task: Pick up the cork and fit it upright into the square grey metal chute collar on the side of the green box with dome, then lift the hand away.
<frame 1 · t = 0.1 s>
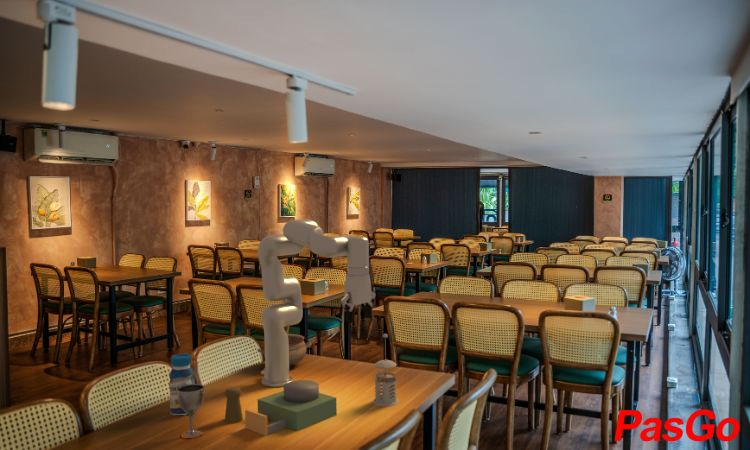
hand: (358, 320, 211), 31 cm above the table, tool pointing down, fingers open, 9 cm apart
wine glass: (191, 435, 189), on the table
green box with dome: (297, 415, 204), on the table
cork: (233, 420, 201), on the table
cooking pot: (285, 366, 265), on the table
french press: (384, 403, 216), on the table
beverage bottle: (182, 412, 209), on the table
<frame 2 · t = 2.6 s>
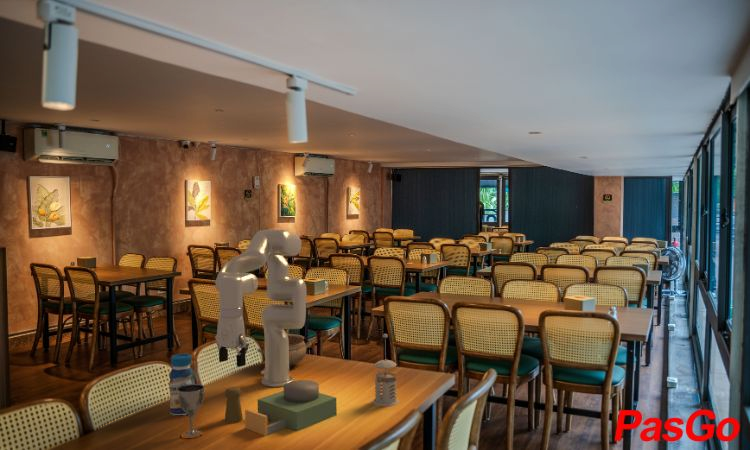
hand: (232, 363, 200), 19 cm above the table, tool pointing down, fingers open, 9 cm apart
nothing on the table moved.
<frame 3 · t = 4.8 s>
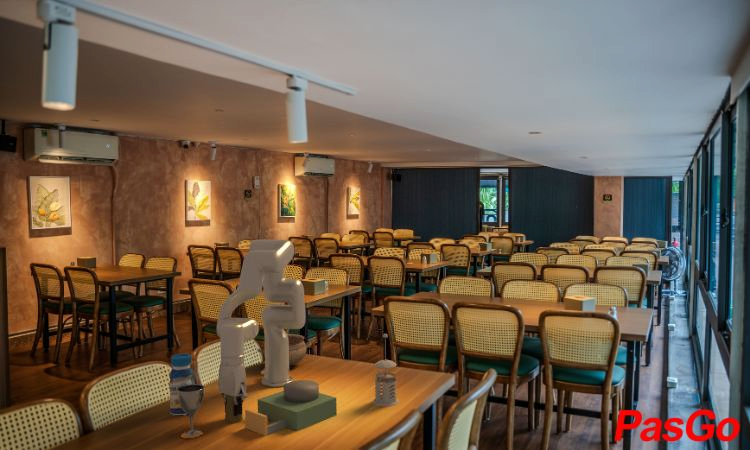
hand: (233, 413, 201), 2 cm above the table, tool pointing down, fingers closed on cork, 4 cm apart
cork: (233, 420, 201), on the table, touching gripper
everything else where it was.
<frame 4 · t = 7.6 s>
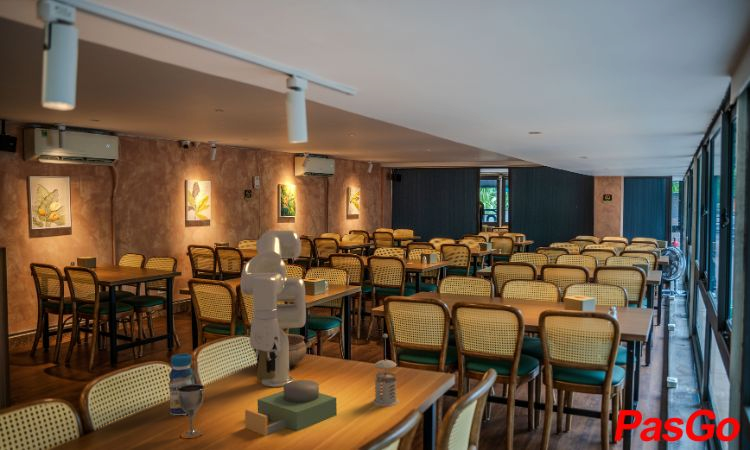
hand: (266, 369, 193), 19 cm above the table, tool pointing down, fingers closed on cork, 4 cm apart
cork: (266, 377, 193), point 16 cm above the table, touching gripper
everything else where it was.
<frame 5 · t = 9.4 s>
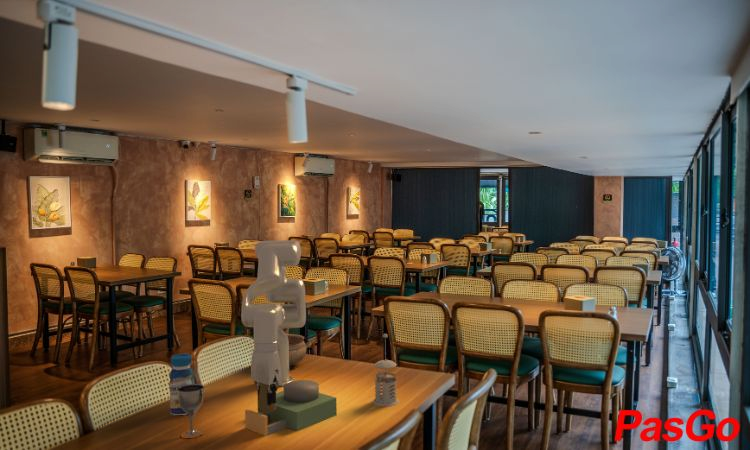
hand: (266, 401, 194), 8 cm above the table, tool pointing down, fingers closed on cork, 4 cm apart
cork: (266, 409, 194), point 6 cm above the table, touching gripper
everything else where it was.
when the fingers open (4 cm above the table, at t = 10.8 s): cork stays where it is, resting in green box with dome.
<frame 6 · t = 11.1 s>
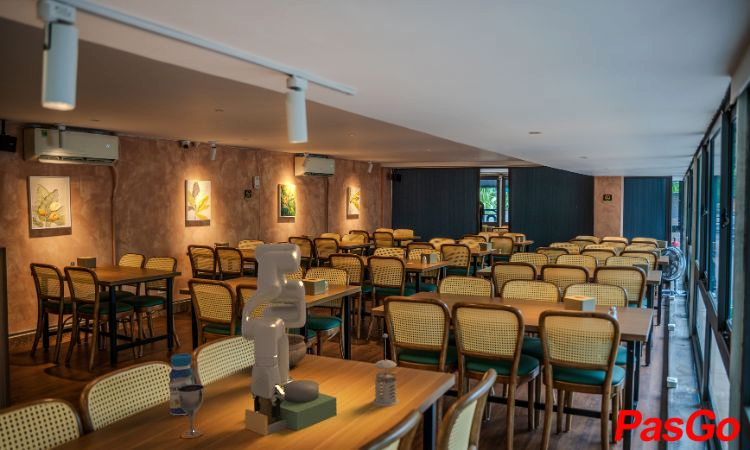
hand: (267, 413, 194), 5 cm above the table, tool pointing down, fingers open, 8 cm apart
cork: (267, 427, 194), resting in green box with dome
everything else where it was.
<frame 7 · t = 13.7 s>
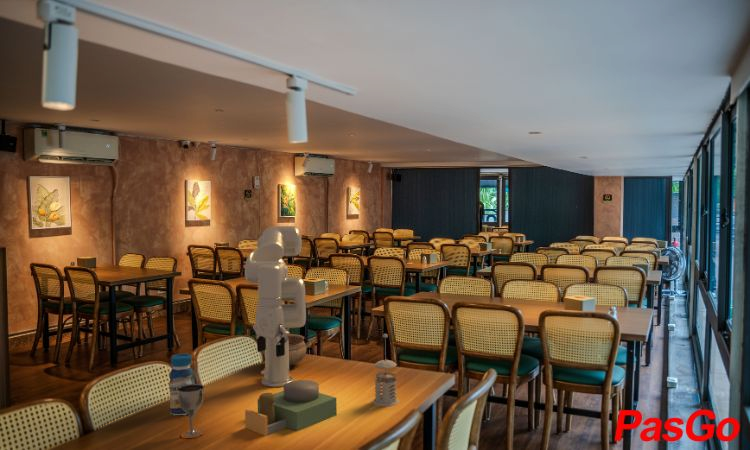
hand: (270, 353, 197), 23 cm above the table, tool pointing down, fingers open, 9 cm apart
nothing on the table moved.
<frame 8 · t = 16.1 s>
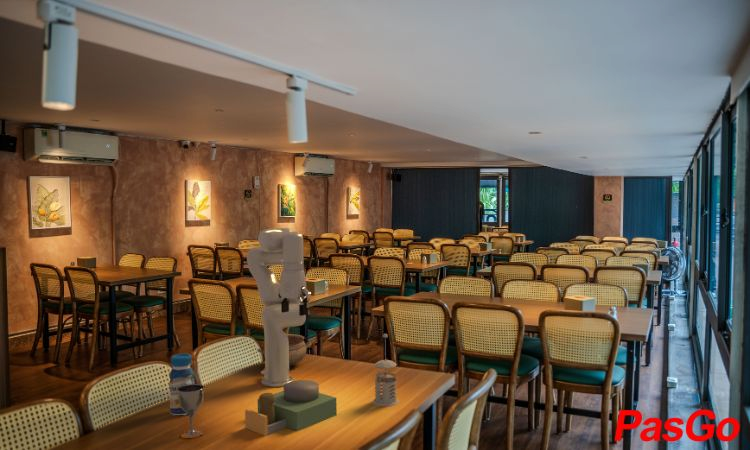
hand: (294, 313, 218), 32 cm above the table, tool pointing down, fingers open, 9 cm apart
nothing on the table moved.
at the end: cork 0.1 cm from the target spot on the green box with dome, point 0.0 cm above the green box with dome's base; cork tilted 0°; the gripper is holding nothing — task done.
